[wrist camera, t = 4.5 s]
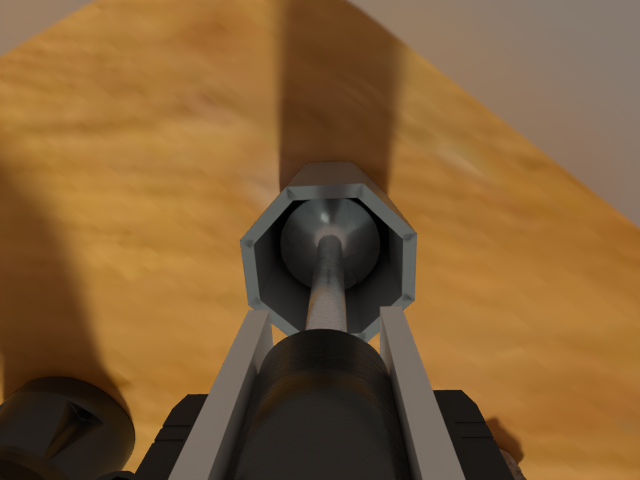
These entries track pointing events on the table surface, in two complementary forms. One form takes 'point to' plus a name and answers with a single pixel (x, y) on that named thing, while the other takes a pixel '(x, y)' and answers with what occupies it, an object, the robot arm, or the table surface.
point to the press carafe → (360, 300)
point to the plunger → (323, 367)
